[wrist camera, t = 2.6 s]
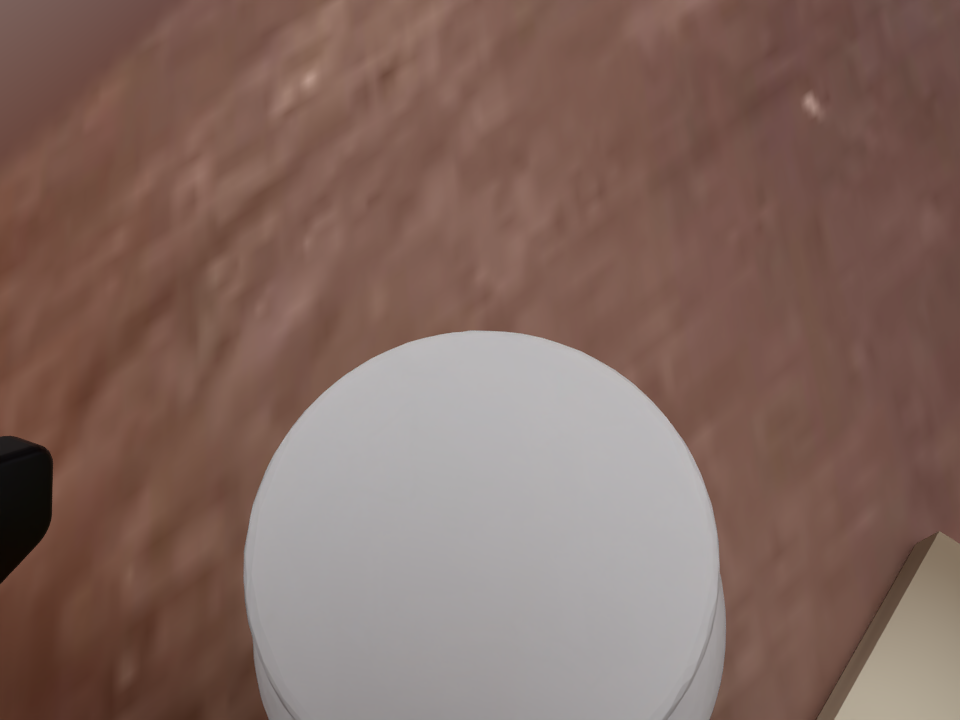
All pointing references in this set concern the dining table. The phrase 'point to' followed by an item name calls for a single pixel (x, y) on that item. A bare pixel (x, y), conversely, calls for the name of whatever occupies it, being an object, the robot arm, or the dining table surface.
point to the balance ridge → (909, 645)
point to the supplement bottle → (484, 545)
